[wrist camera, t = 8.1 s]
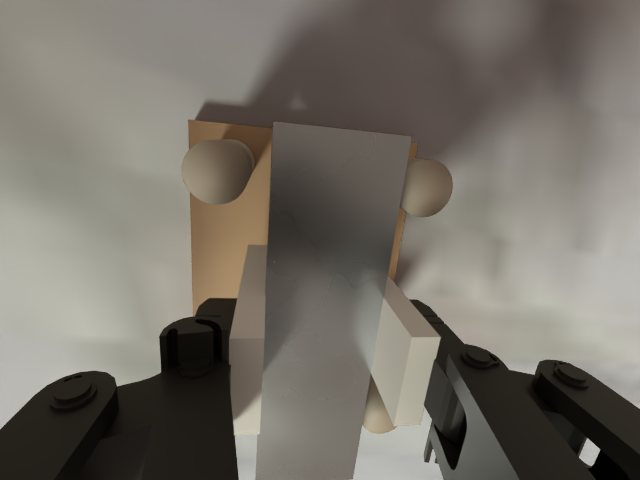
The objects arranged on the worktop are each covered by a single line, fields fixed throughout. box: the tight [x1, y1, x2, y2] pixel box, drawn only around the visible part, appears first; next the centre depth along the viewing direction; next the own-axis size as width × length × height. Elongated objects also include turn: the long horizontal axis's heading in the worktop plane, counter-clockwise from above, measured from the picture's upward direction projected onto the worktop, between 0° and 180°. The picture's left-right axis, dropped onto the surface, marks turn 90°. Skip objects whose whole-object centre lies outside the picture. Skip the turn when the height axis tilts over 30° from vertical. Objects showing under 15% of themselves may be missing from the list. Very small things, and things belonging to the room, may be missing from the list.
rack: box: [182, 120, 453, 436], centre depth 14 cm, size 10×12×6 cm
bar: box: [256, 121, 412, 480], centre depth 12 cm, size 12×4×5 cm, turn 175°
